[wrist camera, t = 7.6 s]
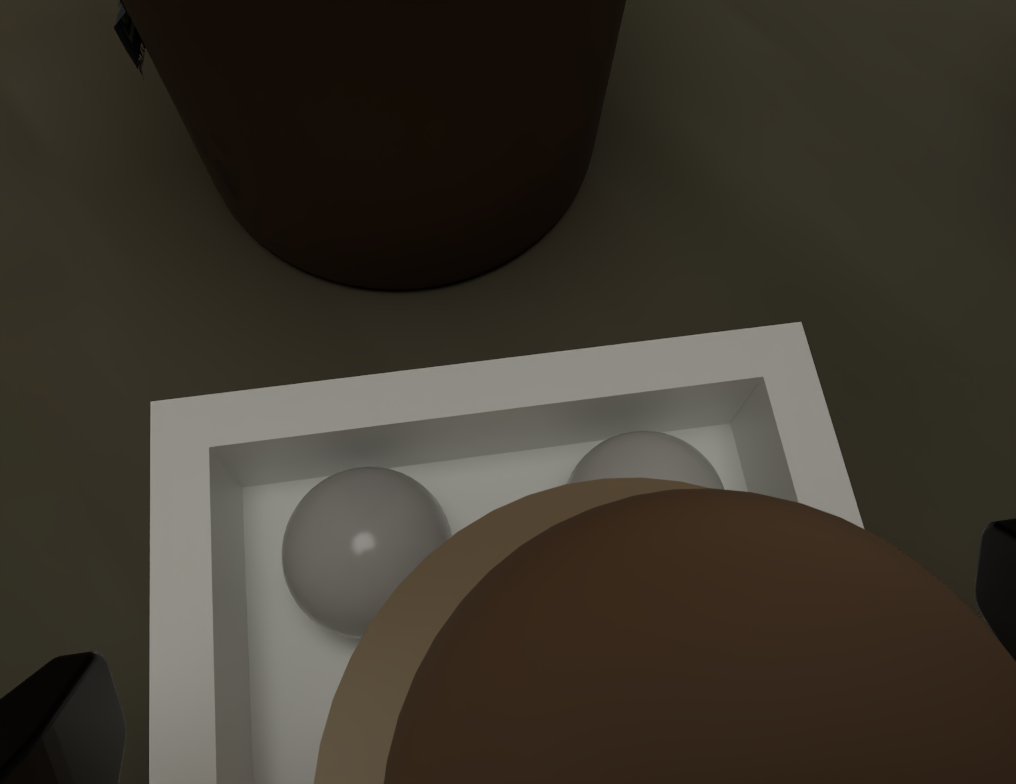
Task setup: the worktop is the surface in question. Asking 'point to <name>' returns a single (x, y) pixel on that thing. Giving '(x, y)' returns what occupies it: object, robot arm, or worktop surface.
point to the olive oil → (386, 122)
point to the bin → (445, 474)
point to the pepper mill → (671, 653)
